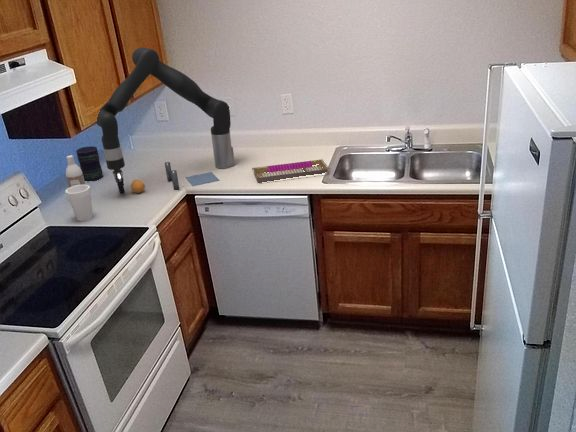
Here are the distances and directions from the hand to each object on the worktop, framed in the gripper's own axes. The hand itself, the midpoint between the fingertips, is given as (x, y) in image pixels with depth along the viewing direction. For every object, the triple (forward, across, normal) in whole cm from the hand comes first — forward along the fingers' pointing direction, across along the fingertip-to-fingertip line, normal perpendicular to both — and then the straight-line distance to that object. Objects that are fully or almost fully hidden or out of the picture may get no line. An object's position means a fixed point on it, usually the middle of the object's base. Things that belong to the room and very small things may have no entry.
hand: (122, 193), depth 237 cm
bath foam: (+1, +8, +18) cm, 19 cm away
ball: (-2, 0, -7) cm, 7 cm away
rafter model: (+2, -18, -75) cm, 78 cm away
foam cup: (+1, -16, +18) cm, 24 cm away
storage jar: (+1, +32, +10) cm, 33 cm away
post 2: (+1, -7, -23) cm, 24 cm away
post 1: (+1, +6, -23) cm, 24 cm away
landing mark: (+1, 0, -37) cm, 37 cm away
